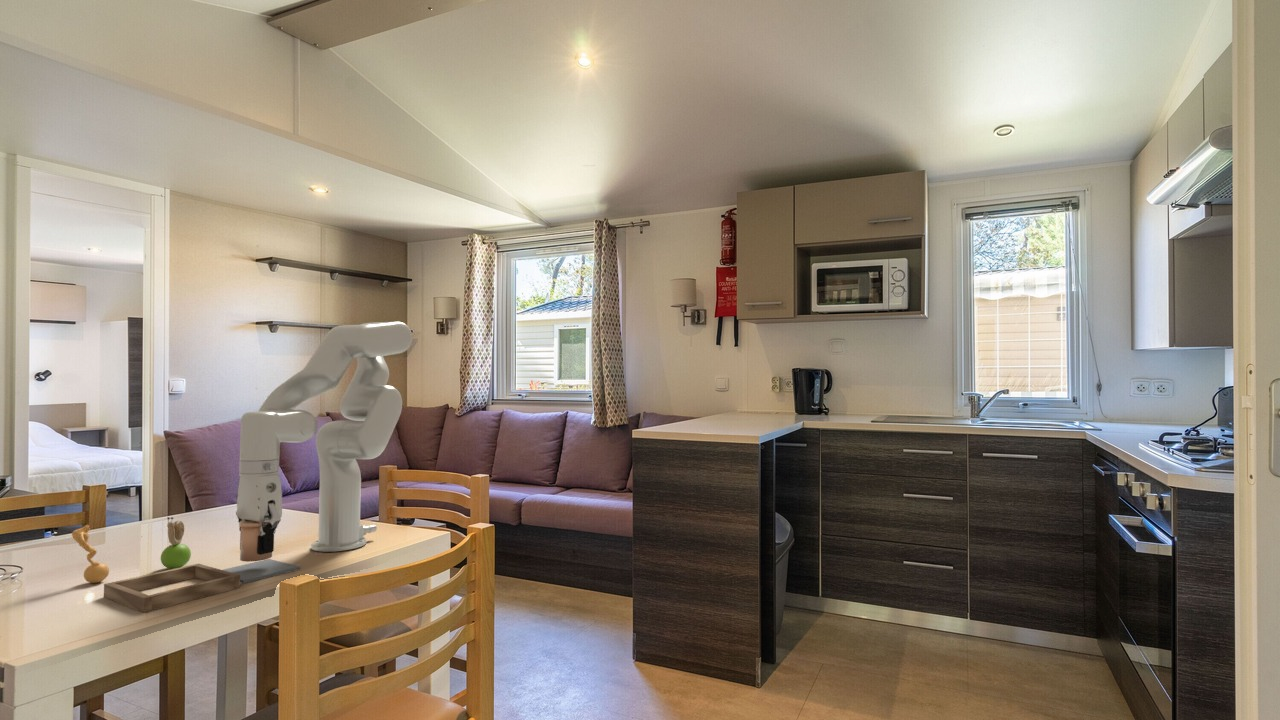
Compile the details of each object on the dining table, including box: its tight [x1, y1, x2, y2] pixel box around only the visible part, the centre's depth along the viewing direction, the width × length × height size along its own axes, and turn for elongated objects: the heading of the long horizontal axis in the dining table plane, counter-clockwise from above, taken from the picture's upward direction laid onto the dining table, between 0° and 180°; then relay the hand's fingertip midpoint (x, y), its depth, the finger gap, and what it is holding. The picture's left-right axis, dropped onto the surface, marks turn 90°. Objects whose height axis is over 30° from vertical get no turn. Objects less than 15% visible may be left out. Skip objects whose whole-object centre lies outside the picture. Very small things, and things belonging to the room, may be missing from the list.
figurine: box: [71, 524, 110, 584], centre depth 130 cm, size 8×6×12 cm
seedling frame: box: [103, 563, 241, 613], centre depth 125 cm, size 16×16×2 cm
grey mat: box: [222, 558, 301, 584], centre depth 139 cm, size 12×12×1 cm
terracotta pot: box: [238, 518, 273, 563], centre depth 139 cm, size 7×7×8 cm
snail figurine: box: [160, 516, 192, 570], centre depth 141 cm, size 5×6×12 cm
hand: (256, 550), depth 138 cm, fingers closed on terracotta pot, 6 cm apart
